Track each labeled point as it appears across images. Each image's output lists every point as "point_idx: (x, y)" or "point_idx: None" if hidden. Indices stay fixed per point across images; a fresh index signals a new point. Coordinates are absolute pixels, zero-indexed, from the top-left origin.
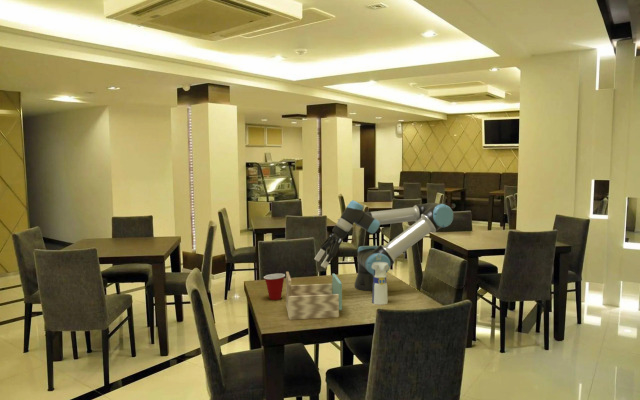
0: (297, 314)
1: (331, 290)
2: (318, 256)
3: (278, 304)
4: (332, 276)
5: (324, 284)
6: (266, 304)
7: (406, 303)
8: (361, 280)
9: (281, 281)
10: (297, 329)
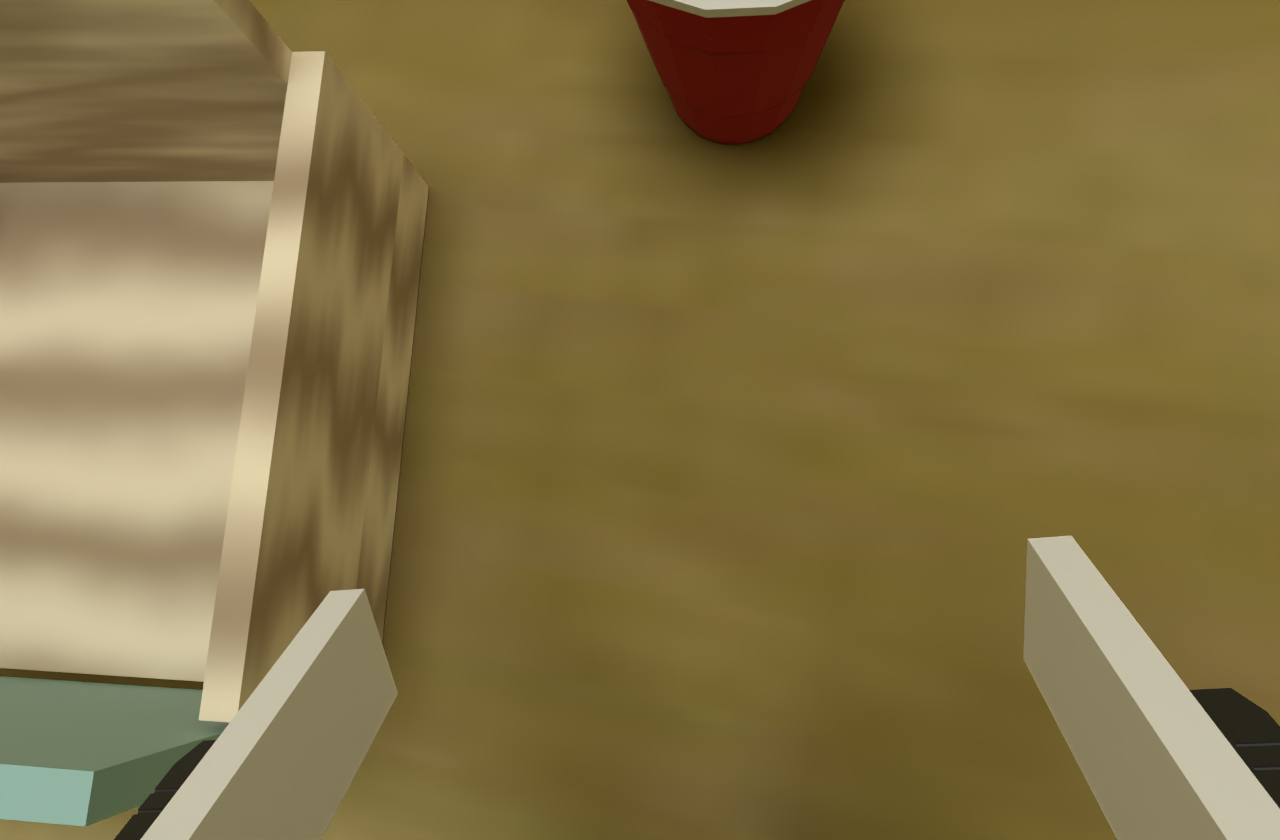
0: None
1: None
2: (1072, 668)
3: (509, 116)
4: (101, 758)
5: (227, 597)
6: (536, 5)
7: None
8: None
9: (643, 12)
10: None
